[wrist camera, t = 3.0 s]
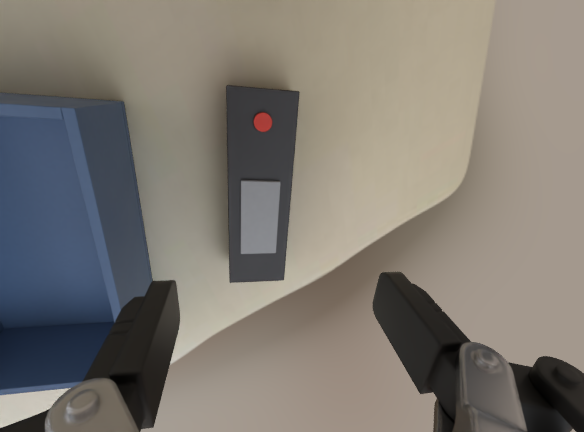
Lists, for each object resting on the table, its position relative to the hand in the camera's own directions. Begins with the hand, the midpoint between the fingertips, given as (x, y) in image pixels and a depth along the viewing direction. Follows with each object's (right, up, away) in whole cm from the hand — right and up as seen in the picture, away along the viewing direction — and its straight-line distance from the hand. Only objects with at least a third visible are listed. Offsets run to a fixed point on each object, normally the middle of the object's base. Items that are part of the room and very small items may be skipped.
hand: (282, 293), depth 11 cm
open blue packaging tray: (-19, +2, +11) cm, 22 cm away
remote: (-3, +6, +13) cm, 14 cm away
